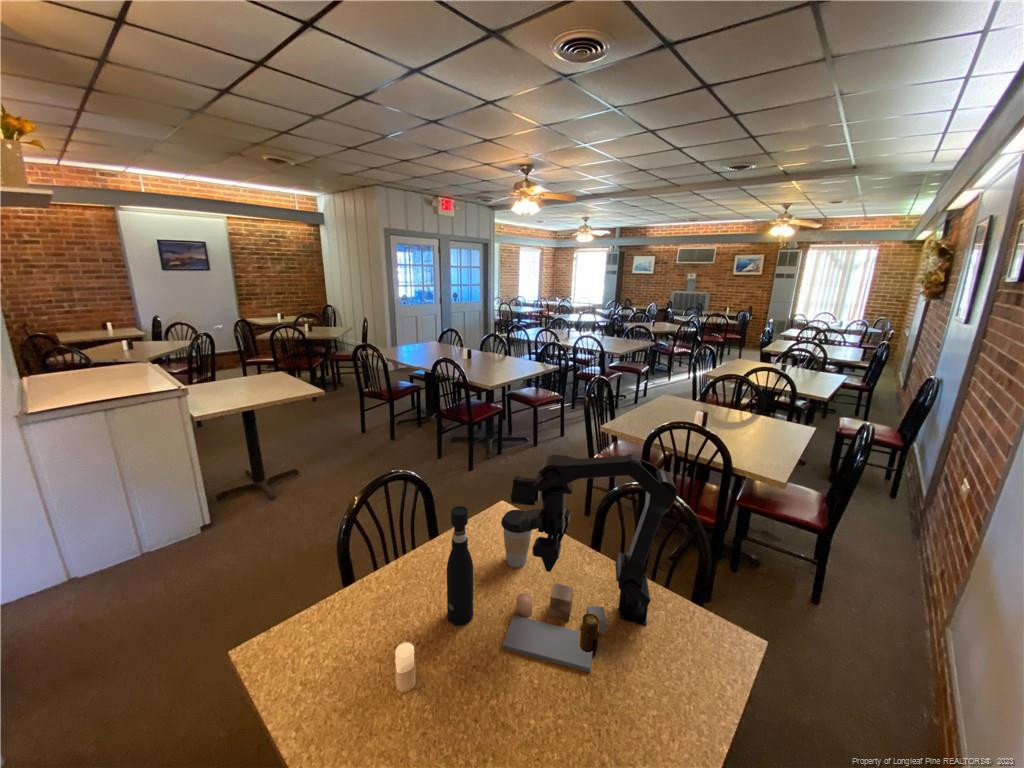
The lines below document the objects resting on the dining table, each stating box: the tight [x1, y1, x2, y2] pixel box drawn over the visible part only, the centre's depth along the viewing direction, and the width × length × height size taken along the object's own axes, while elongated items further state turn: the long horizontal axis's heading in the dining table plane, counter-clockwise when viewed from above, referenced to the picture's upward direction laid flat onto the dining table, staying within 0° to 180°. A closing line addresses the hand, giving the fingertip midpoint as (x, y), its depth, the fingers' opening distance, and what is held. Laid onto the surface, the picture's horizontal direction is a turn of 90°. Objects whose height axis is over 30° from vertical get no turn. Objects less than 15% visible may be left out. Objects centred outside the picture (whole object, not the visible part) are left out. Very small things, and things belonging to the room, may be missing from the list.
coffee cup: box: [500, 509, 532, 569], centre depth 123 cm, size 9×9×15 cm
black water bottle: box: [446, 505, 474, 627], centre depth 101 cm, size 6×6×30 cm
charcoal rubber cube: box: [586, 605, 607, 634], centre depth 102 cm, size 4×4×4 cm
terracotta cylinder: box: [515, 592, 533, 619], centre depth 106 cm, size 4×4×4 cm
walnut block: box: [548, 582, 574, 622], centre depth 106 cm, size 5×5×6 cm
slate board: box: [502, 614, 594, 673], centre depth 97 cm, size 20×9×1 cm, turn 74°
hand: (552, 559), depth 108 cm, fingers open, 9 cm apart
